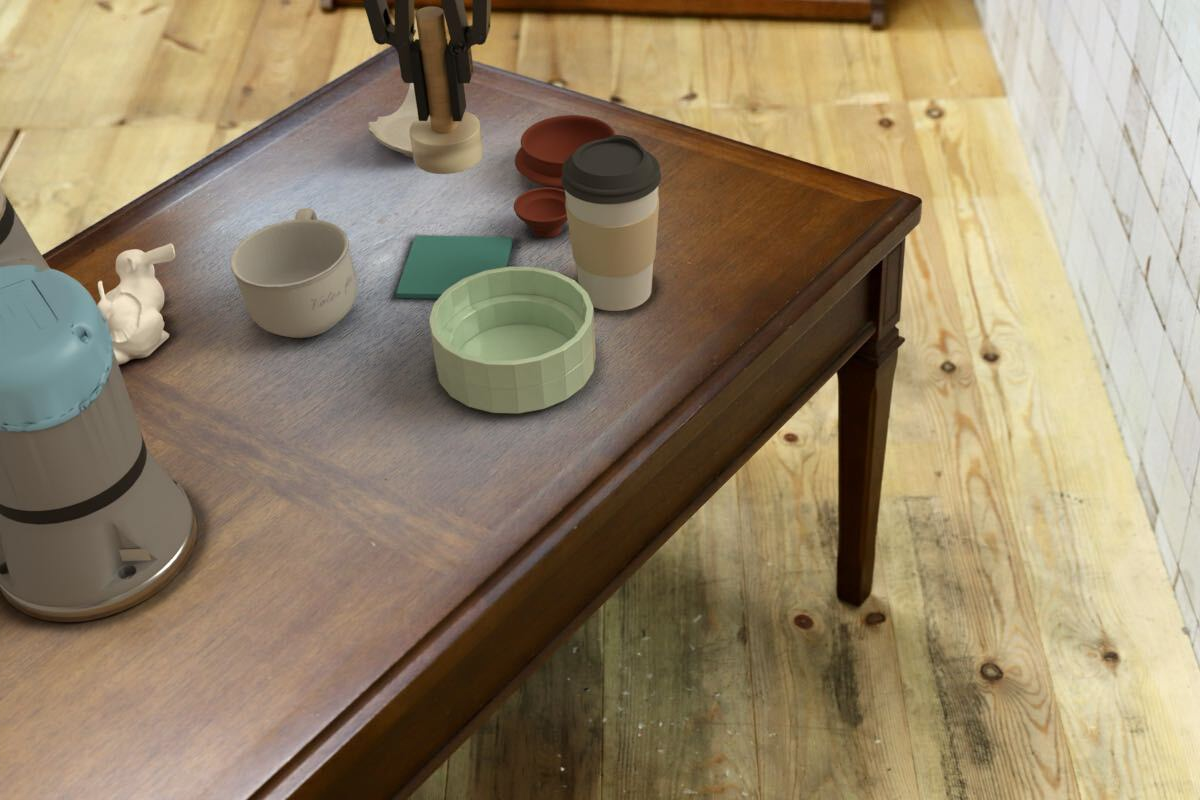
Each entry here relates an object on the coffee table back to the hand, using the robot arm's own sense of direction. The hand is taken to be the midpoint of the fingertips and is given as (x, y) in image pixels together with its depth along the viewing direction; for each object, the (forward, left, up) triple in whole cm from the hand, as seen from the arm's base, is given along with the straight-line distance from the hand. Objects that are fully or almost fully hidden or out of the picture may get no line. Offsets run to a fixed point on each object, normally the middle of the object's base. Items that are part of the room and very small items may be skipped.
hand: (442, 113), depth 123 cm
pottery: (+8, +15, -18) cm, 25 cm away
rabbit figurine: (-28, -10, -18) cm, 35 cm away
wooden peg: (0, 0, -4) cm, 4 cm away
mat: (-1, +1, -18) cm, 18 cm away
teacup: (-14, -6, -18) cm, 24 cm away
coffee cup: (+15, -2, -18) cm, 24 cm away
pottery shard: (-9, +25, -18) cm, 32 cm away
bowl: (+7, -14, -18) cm, 24 cm away
